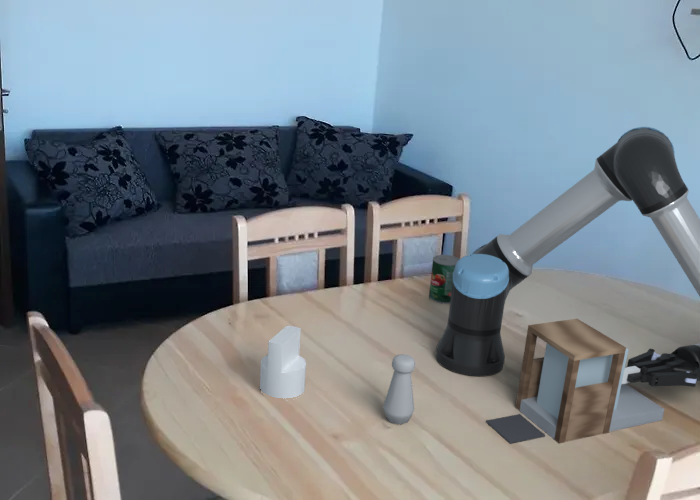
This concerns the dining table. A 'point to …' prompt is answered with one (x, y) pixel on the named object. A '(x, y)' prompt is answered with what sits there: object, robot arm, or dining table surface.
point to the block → (587, 375)
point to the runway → (627, 414)
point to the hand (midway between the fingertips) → (611, 377)
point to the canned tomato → (442, 278)
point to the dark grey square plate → (515, 428)
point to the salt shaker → (400, 391)
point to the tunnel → (574, 377)
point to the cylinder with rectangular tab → (283, 365)
